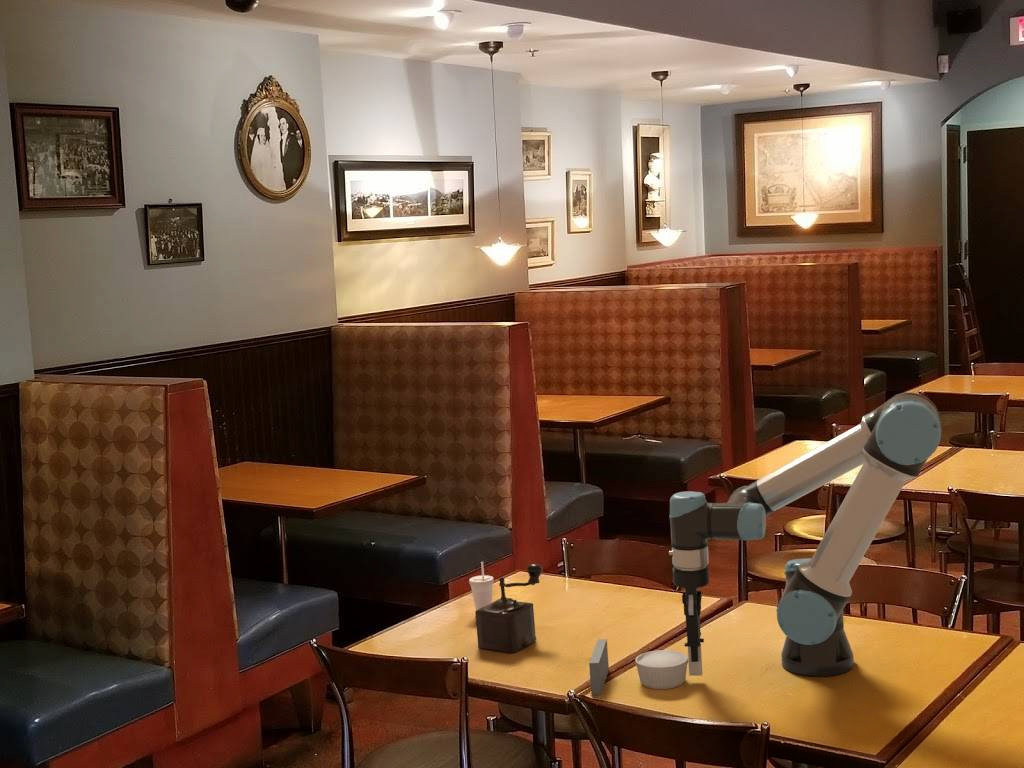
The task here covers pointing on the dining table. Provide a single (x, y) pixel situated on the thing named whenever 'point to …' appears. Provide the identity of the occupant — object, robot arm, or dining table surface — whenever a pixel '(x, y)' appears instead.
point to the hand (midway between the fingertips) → (695, 674)
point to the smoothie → (481, 589)
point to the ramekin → (662, 668)
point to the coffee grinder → (508, 619)
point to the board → (599, 667)
